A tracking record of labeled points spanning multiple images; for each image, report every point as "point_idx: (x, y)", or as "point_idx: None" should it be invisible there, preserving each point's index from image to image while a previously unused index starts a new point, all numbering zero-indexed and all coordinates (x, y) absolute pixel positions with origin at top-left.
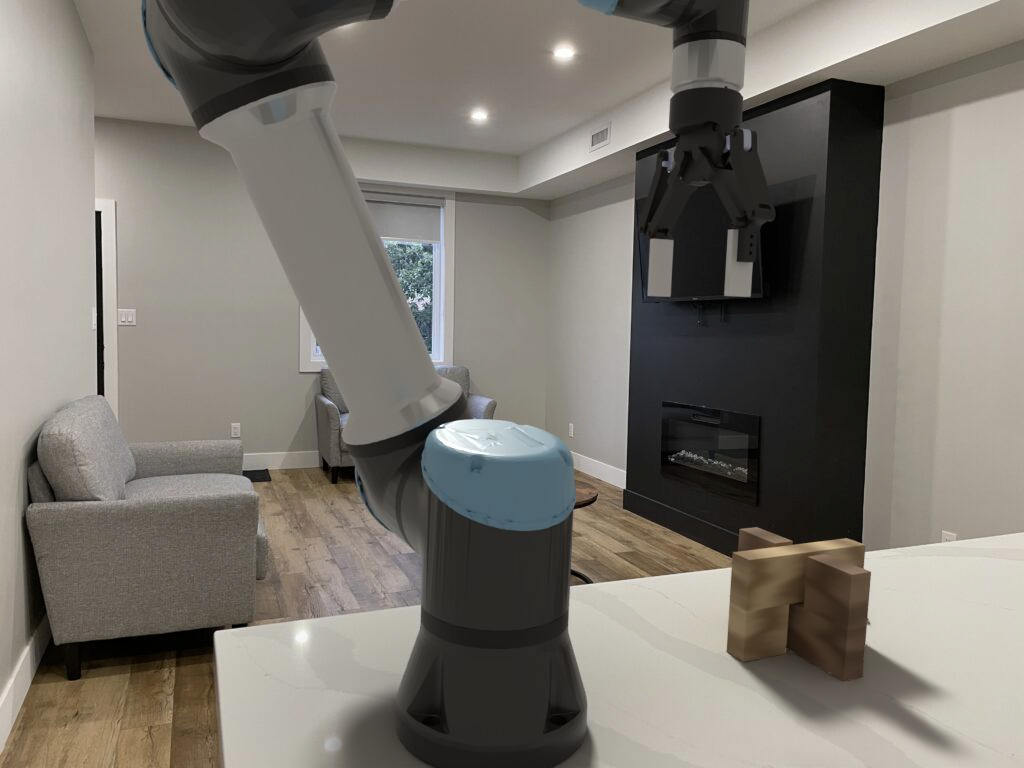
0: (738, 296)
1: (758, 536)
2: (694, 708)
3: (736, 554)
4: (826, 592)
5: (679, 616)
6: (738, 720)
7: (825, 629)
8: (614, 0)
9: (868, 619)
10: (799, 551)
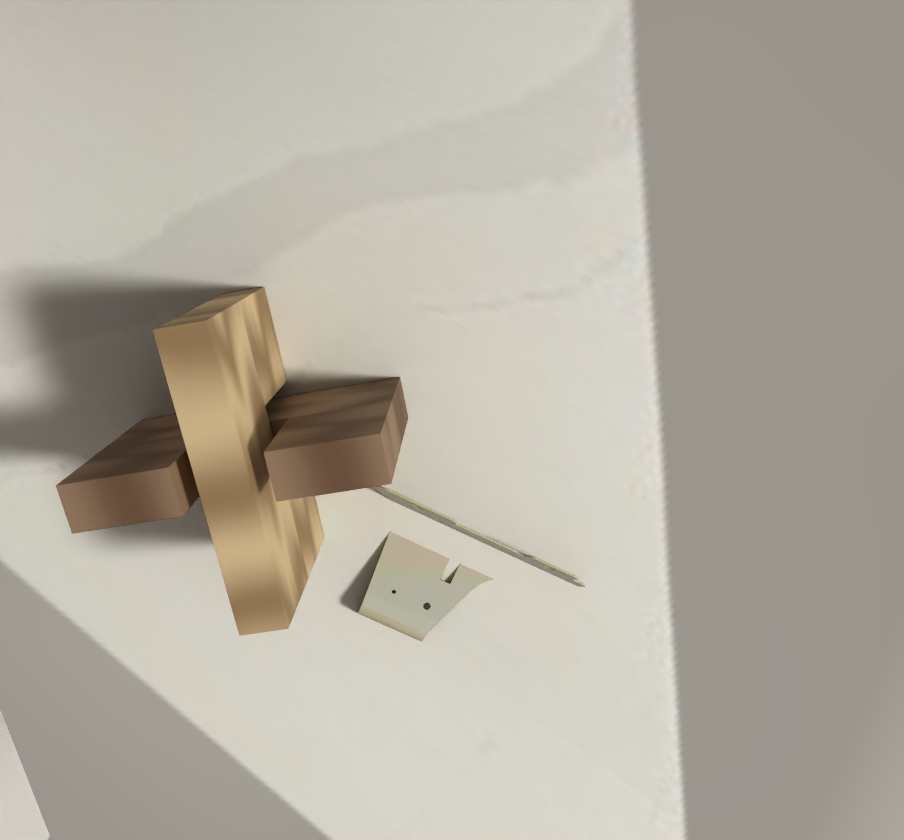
0: (22, 781)
1: (318, 445)
2: (71, 123)
3: (193, 322)
4: (135, 456)
5: (429, 275)
6: (32, 178)
7: (159, 434)
8: None
9: (356, 612)
10: (203, 472)
